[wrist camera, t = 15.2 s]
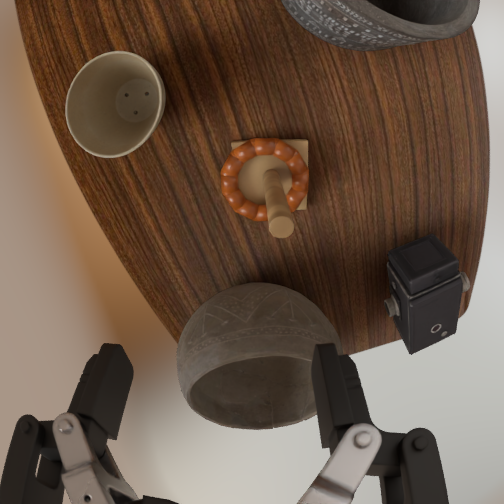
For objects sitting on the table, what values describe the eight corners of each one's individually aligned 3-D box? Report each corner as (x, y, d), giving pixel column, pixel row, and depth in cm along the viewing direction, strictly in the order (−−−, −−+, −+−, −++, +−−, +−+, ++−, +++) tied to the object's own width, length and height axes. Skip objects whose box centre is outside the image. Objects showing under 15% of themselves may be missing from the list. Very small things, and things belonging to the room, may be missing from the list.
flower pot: (200, 103, 27) (185, 107, 21) (133, 159, 30) (106, 178, 24) (146, 39, 23) (118, 29, 17) (84, 100, 26) (49, 107, 20)
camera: (432, 283, 42) (432, 211, 33) (463, 335, 33) (480, 265, 24) (377, 308, 44) (364, 239, 35) (401, 365, 35) (400, 303, 26)
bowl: (355, 294, 41) (387, 377, 28) (277, 369, 50) (282, 443, 37) (228, 229, 35) (216, 318, 22) (169, 329, 45) (149, 410, 32)
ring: (224, 217, 33) (223, 224, 32) (219, 138, 28) (217, 141, 27) (305, 216, 33) (307, 222, 32) (308, 136, 28) (311, 139, 27)
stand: (236, 208, 34) (229, 275, 23) (231, 141, 30) (219, 175, 18) (305, 206, 34) (331, 271, 23) (306, 139, 29) (340, 173, 18)
